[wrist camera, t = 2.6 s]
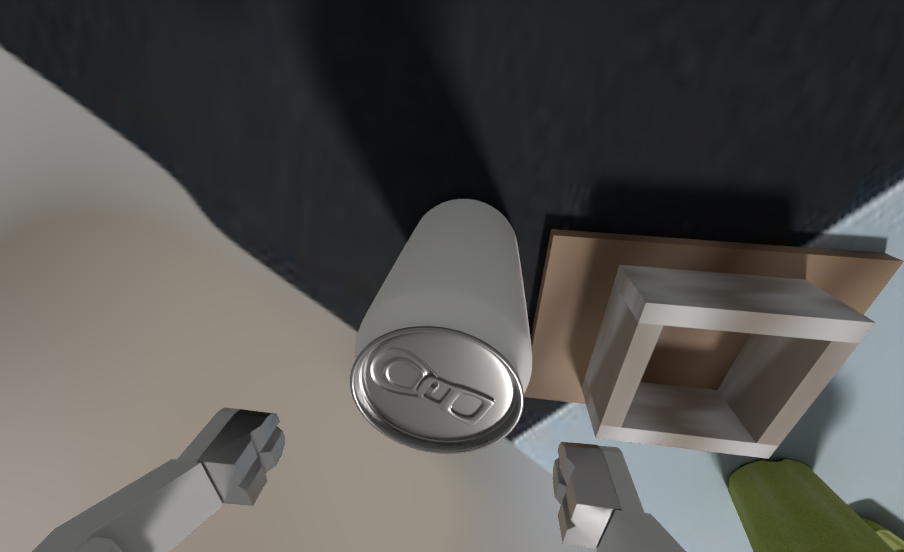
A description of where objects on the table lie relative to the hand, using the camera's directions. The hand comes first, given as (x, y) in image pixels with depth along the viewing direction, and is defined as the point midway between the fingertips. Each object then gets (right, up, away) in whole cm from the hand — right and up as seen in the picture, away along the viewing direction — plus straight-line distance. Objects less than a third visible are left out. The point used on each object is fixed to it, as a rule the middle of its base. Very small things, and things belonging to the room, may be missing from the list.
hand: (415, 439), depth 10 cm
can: (+2, +7, +12) cm, 14 cm away
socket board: (+16, +1, +13) cm, 21 cm away
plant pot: (+27, -12, +19) cm, 35 cm away
